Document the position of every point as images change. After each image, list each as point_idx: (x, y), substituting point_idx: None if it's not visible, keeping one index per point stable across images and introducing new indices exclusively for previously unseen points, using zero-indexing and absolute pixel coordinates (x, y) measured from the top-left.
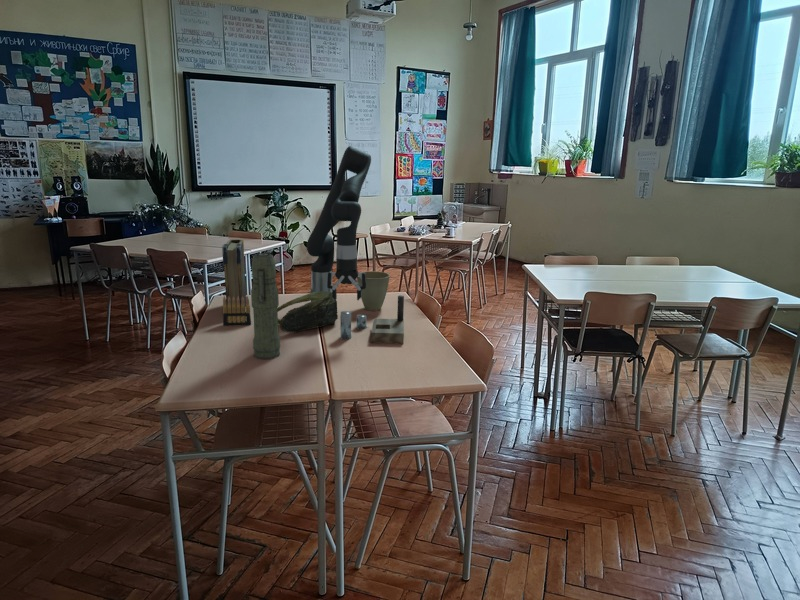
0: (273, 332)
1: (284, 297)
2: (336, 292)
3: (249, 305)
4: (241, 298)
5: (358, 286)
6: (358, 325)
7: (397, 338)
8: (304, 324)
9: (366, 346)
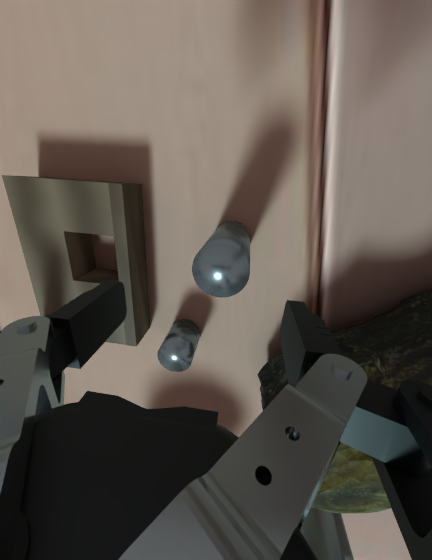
0: None
1: (391, 551)
2: (287, 367)
3: None
4: None
5: (5, 348)
6: (191, 329)
7: (41, 177)
8: (392, 317)
9: (153, 141)
